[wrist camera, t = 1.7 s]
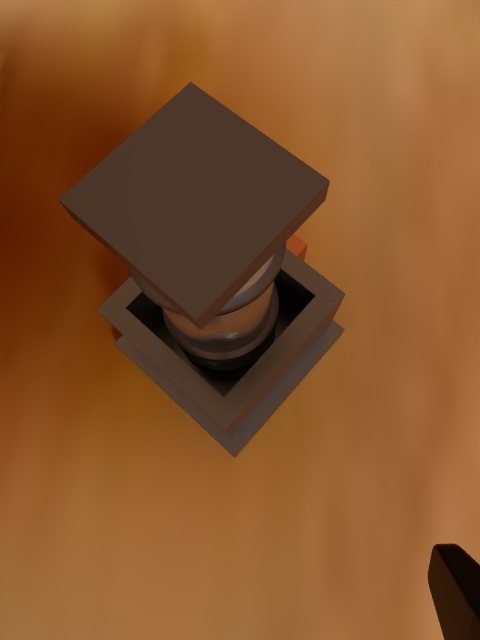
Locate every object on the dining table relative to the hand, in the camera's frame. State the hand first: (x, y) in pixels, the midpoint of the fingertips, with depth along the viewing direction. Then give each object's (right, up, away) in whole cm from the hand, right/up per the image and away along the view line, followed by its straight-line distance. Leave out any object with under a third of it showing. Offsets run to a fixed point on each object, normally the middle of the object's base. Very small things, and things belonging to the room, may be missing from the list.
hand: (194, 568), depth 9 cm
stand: (0, +4, +15) cm, 15 cm away
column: (0, +4, +13) cm, 14 cm away
